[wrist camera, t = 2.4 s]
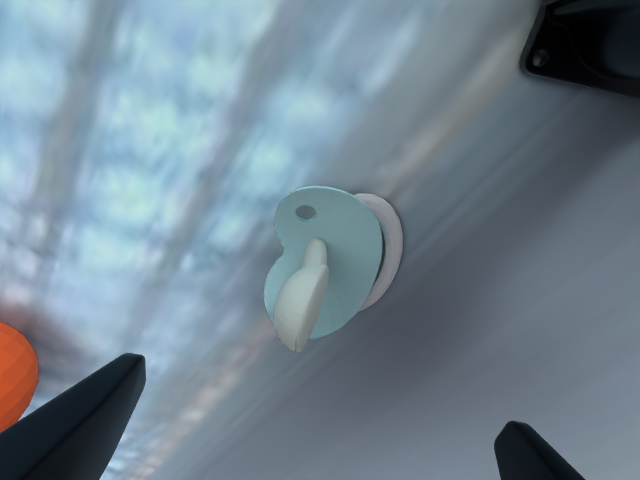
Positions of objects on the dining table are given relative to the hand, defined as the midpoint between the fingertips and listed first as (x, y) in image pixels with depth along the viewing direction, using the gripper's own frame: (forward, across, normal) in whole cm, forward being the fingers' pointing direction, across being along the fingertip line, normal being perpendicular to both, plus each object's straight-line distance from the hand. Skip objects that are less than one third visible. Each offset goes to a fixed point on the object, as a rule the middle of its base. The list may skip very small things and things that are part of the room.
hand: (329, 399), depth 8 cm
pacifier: (+9, 0, 0) cm, 9 cm away
